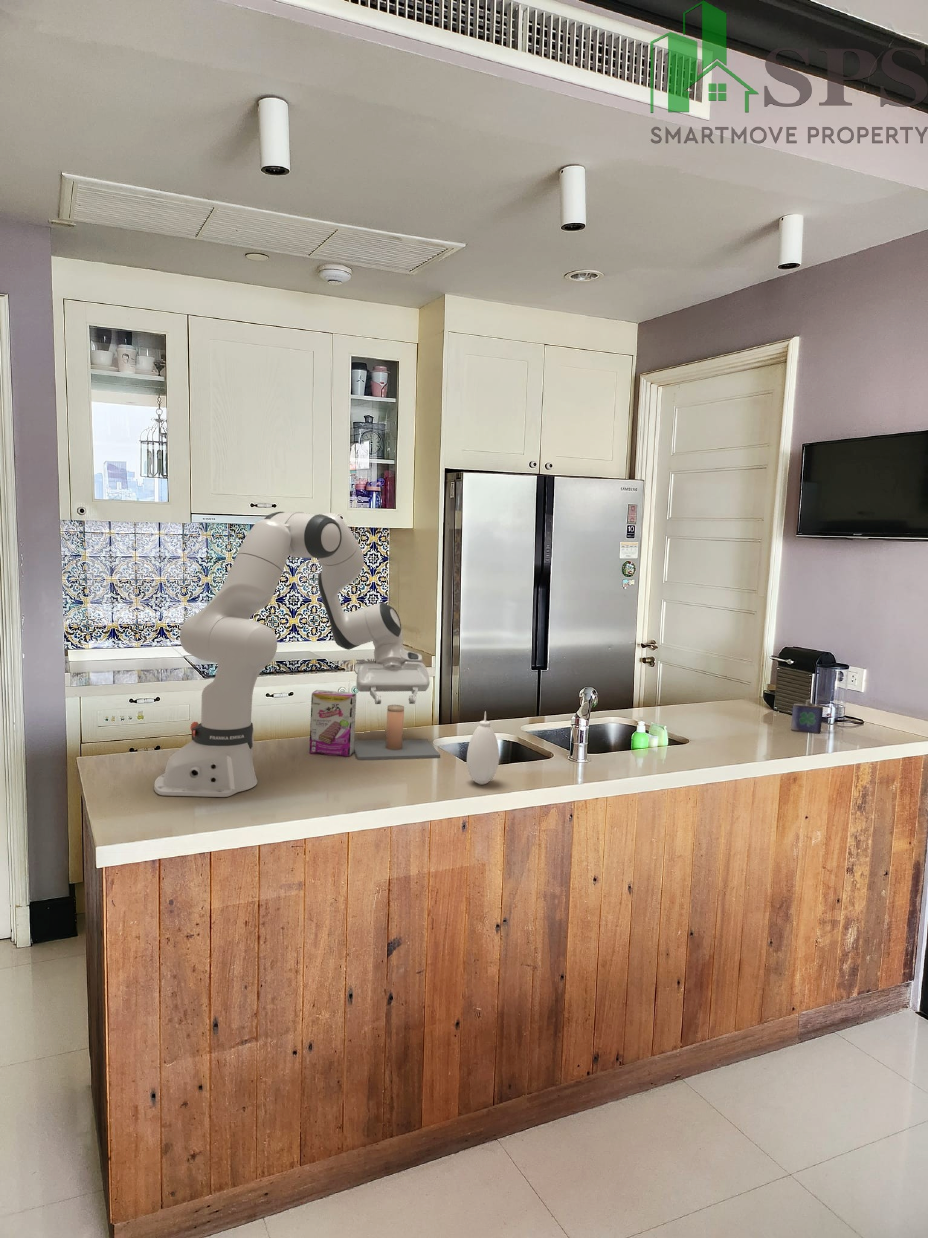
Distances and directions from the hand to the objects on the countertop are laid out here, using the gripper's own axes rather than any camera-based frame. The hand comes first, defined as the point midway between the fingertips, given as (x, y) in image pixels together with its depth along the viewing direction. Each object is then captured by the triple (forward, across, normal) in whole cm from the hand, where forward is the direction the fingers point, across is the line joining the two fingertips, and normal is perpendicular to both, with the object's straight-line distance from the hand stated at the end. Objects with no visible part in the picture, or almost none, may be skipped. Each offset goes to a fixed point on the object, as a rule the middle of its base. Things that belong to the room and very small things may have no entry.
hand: (395, 703), depth 227 cm
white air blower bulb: (+32, +16, -13) cm, 38 cm away
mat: (+10, 0, +8) cm, 13 cm away
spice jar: (+10, 0, +8) cm, 12 cm away
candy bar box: (+11, -17, +8) cm, 22 cm away
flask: (+3, +139, +16) cm, 140 cm away
